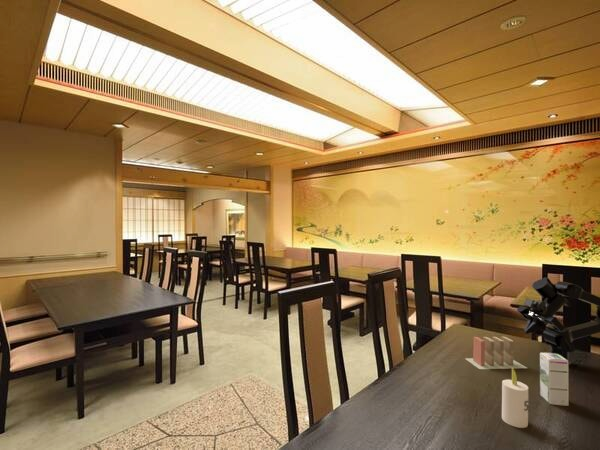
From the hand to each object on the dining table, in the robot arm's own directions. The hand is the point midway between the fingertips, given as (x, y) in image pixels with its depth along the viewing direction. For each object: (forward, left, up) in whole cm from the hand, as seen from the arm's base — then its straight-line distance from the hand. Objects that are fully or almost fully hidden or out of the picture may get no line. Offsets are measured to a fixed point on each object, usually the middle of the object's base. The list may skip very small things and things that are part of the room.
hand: (525, 332), depth 132 cm
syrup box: (+25, +16, -13) cm, 33 cm away
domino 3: (+10, -6, -12) cm, 17 cm away
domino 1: (+17, -11, -12) cm, 23 cm away
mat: (+11, -7, -13) cm, 18 cm away
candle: (+48, +13, -13) cm, 52 cm away
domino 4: (+7, -4, -12) cm, 15 cm away
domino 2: (+13, -9, -12) cm, 20 cm away
